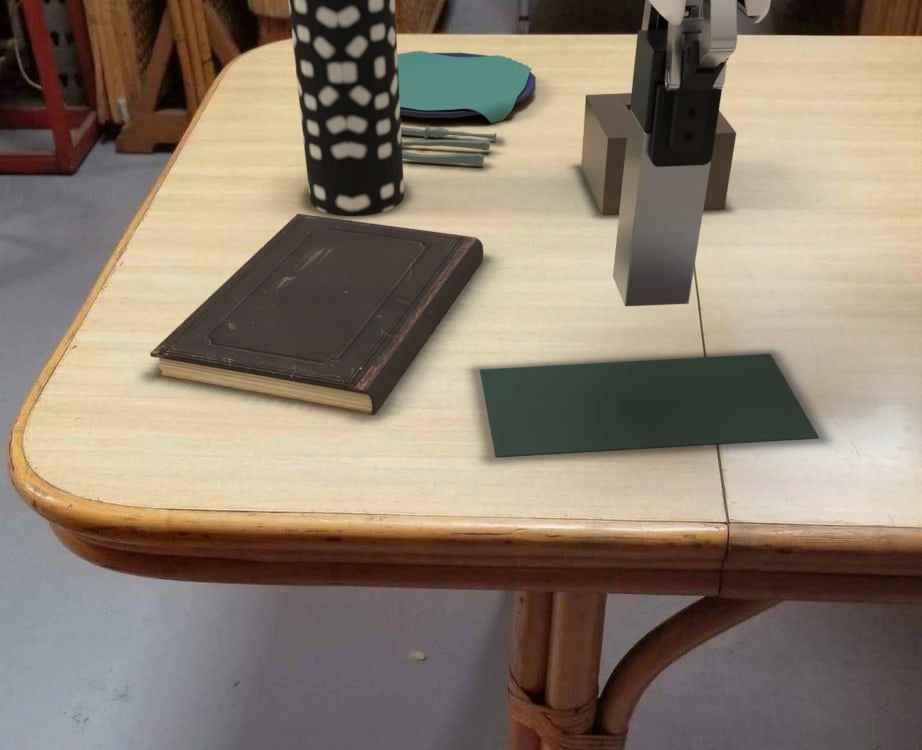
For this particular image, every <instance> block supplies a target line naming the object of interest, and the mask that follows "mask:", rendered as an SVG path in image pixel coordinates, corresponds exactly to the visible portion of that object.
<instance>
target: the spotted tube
mask: <svg viewBox="0 0 922 750" xmlns="http://www.w3.org/2000/svg"><path fill="white" fill-rule="evenodd" d="M287 1H288V10H289V18H290V19H289V20H290V28H291V37H292V38H291V39H292V46H293V47H292V48H293V55H294V56H293V57H294V67H295V75H296V83H297V84H296V85H297V91H298V93H297V94H298V102H299V103H298V104H299V111H300V112H299V113H300V120H301V121H300V122H301V129H302V139H303V140H302V141H303V149H304V158H305V167H306V176H307V185H308V193H309V194H308V195H309V202H310V204H311V205H312V206H313V207H314V209H316V210H318V211H320V212H322V213H326V214H329V215H333V216H340V217H341V216H342V217H365V216H372V215H376V214H381V213H385V212H387V211H390V210H393V209H394V208H396V207H397V206H399V205H400V204H401V203H402V201H403V200H404V198H405V185H404V184H405V183H404V163H403V161H404V159H402V152H403V146H402V141H403V140H402V134H401V127H402V122H401V120H402V119H401V115H400V98H399V78H398V57H397V54H398V41H397V39H398V37H397V20H396V19H397V18H396V0H287Z"/></svg>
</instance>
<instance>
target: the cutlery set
mask: <svg viewBox="0 0 922 750" xmlns="http://www.w3.org/2000/svg"><path fill="white" fill-rule="evenodd" d="M397 57H398V78H399V98H400V116H408V117H413V118H422V119H423V118H424V119H442V118H443V119H452V118H453V119H454V118H463V117H470V116H471V117H472V116H479V115H482V116H484V117H485V118H486V119H487V120H488V122H489V123H490V124H496V123H500V122H502V121H503V120H504V119H506V118H507V117H508V116H509V115H510V113H511V112H512V110H513V109H514V106H515V105H516V104H518V103H521V102H522V101H525V100H526V99H528V97H529V96H530V95H531V94H532V93H533V92H534V91H536V87H537V86H536V85H537V84H536V83H537V82H536V80H537V79H536V76H535V75H534V73H532V72H531V71H532V69H533V68H532V67H529V66H528V65H527V64H524V63H522V62H518V61H517V60H515V59H512V58H511V57H506V56H504V55H486V54H476V53H467V52H430V51H423V50H414V51H413V50H412V51H409V52H403V53H397ZM401 135H415V136H423V137H424V140H408V141H407V140H406V141H403V140H402V147H409V146H410V147H411V146H412V147H414V146H415V147H450V148H465V149H472V150H479V151H489V150H490V148H491V140H493V141H494V143H496V142H497V132H495V133H472V132H465V131H456V130H455V131H454V130H448V129H446V128H443V127H441V126H437V127H435V128H430V127H429V125H428V124H427V125H426V127H425V128H424V129H423V128H422V129H421V128H415V127H406V126H401ZM431 136H433V137H435V138H436V139H432V140H430V139H429V140H427V139H428V137H431ZM446 136H457V137H458V136H459V137H474V138H480V139H481V138H482V139H481V140H479V139H477V140H475V139H473V140H472V139H438V138H442V137H446ZM484 139H485V140H484ZM484 158H485V154H483V153H448V154H447V153H445V154H431V153H430V154H426V153H425V154H423V153H416V152H409V151H402V160H407V161H414V162H418V163H424V164H425V163H426V164H444V165H445V164H447V165H448V164H463V165H473V166H477V167H480V166H483V165H484V162H485V159H484Z"/></svg>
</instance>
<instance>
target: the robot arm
mask: <svg viewBox="0 0 922 750" xmlns="http://www.w3.org/2000/svg"><path fill="white" fill-rule="evenodd" d="M771 2H772V0H645V1H644V6H643V7H644V9H643V16H642V22H641V23H642V24H641V29H640V30H667V29H668V39H667V53H666V68H665V85H657V95H656V104H655V113H654V123H653V132H652V141H651V150H650V160H651V162H652V163H653V165H654V166H656V167H670V166H694V165H706V164H708V163H709V162H710V161H711V159H712V155H713V148H714V141H715V134H716V127H717V120H718V113H719V111H720V108H721V107H720V106H721V99H722V94H723V93H722V91H723V87H724V85H725V81H726V72H727V61H728V60H729V59H730V57H731V56H732V55H733V54H734V53H735V51H736V49H737V45H738V15H739V16H740V17H741V18H743V19H744V20H745V22H747V23H749V24H759V23H760V22H761V21H762V20H763V19H764V18H765V17H766V16H767V14H768V13H769V10H770V7H771ZM701 11H702V17H701V16H700V15H701ZM692 33H701V34H700V35H699V40H697V41H690V42H689V44H688V46H687V48H685V52H684V54H683V45H684V34H692Z"/></svg>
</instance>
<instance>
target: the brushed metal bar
mask: <svg viewBox="0 0 922 750" xmlns="http://www.w3.org/2000/svg"><path fill="white" fill-rule="evenodd" d="M700 34H701V33H692V34H684V45H683V54H684V52H685V48H687V46H688V44H689V42H690V41H697V40H699V35H700ZM636 35H637V36H636V43H635V54H634V65H633V72H632V73H633V75H632V85H631V92H630V93H631V103H630V113H629V123H628V133H627V143H626V152H625V162H624V172H623V182H622V192H621V202H620V211H619V215H618V221H617V232H616V241H615V251H614V263H613V272H612V278H613V280H614V283H615V285H616V287H617V290H618V292H619V295H620V297H621V300H622V302H623V305H624V306H625V307H646V306H670V305H673V306H675V305H688V304H689V303H690V298H691V292H692V285H693V280H694V279H693V278H694V272H695V266H696V260H697V253H698V246H699V240H700V234H701V228H702V220H703V213H704V211H703V208H704V202H705V195H706V189H707V182H708V176H709V169H710V163H711V161H710V162H709V163H708V164H706V165H694V166H670V167H656V166H654V165H653V163H652V162H651V160H650V150H651V141H652V132H653V123H654V113H655V104H656V95H657V85H665V68H666V53H667V39H668V29H667V30H641V29H639V30H637V34H636Z"/></svg>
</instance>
